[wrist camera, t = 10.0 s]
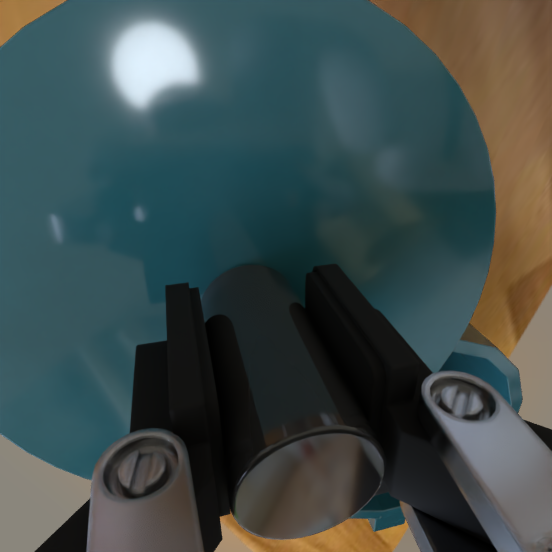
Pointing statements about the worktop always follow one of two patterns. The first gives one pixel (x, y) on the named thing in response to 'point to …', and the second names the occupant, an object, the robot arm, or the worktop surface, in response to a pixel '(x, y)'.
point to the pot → (475, 361)
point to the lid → (230, 226)
